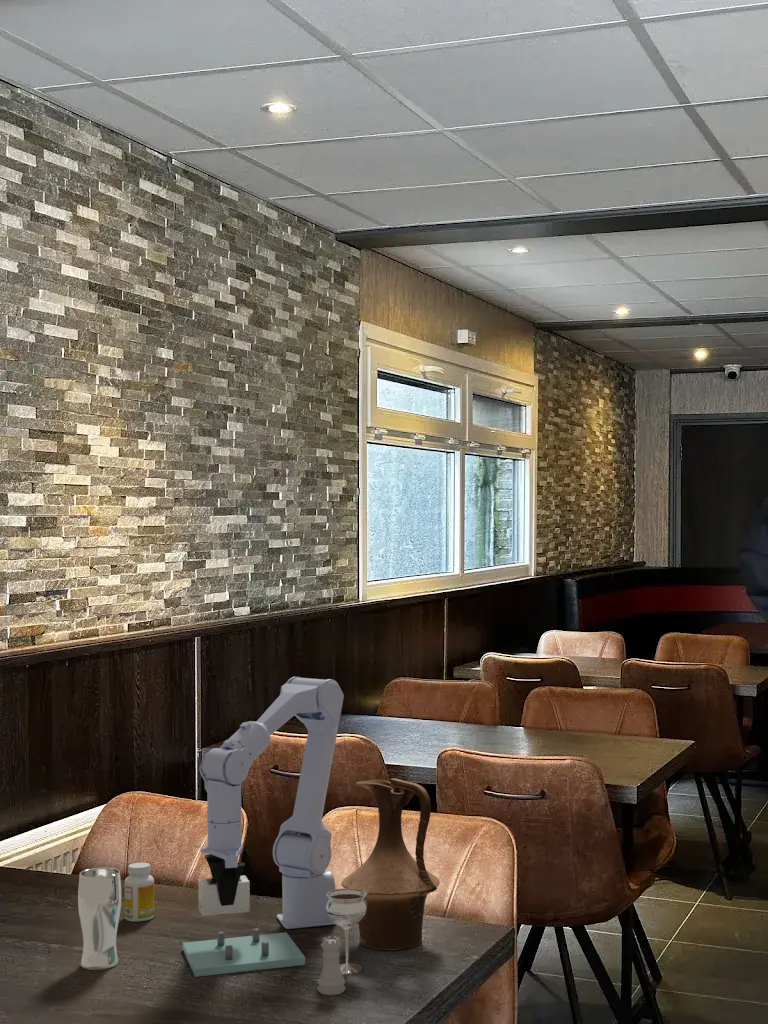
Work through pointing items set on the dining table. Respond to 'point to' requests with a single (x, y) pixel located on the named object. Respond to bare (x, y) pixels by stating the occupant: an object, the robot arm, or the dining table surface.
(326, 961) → the rook chess piece
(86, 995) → the dining table surface
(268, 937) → the pin tray
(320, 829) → the robot arm
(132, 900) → the supplement bottle
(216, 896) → the block
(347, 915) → the wineglass
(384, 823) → the pitcher
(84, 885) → the beer glass
